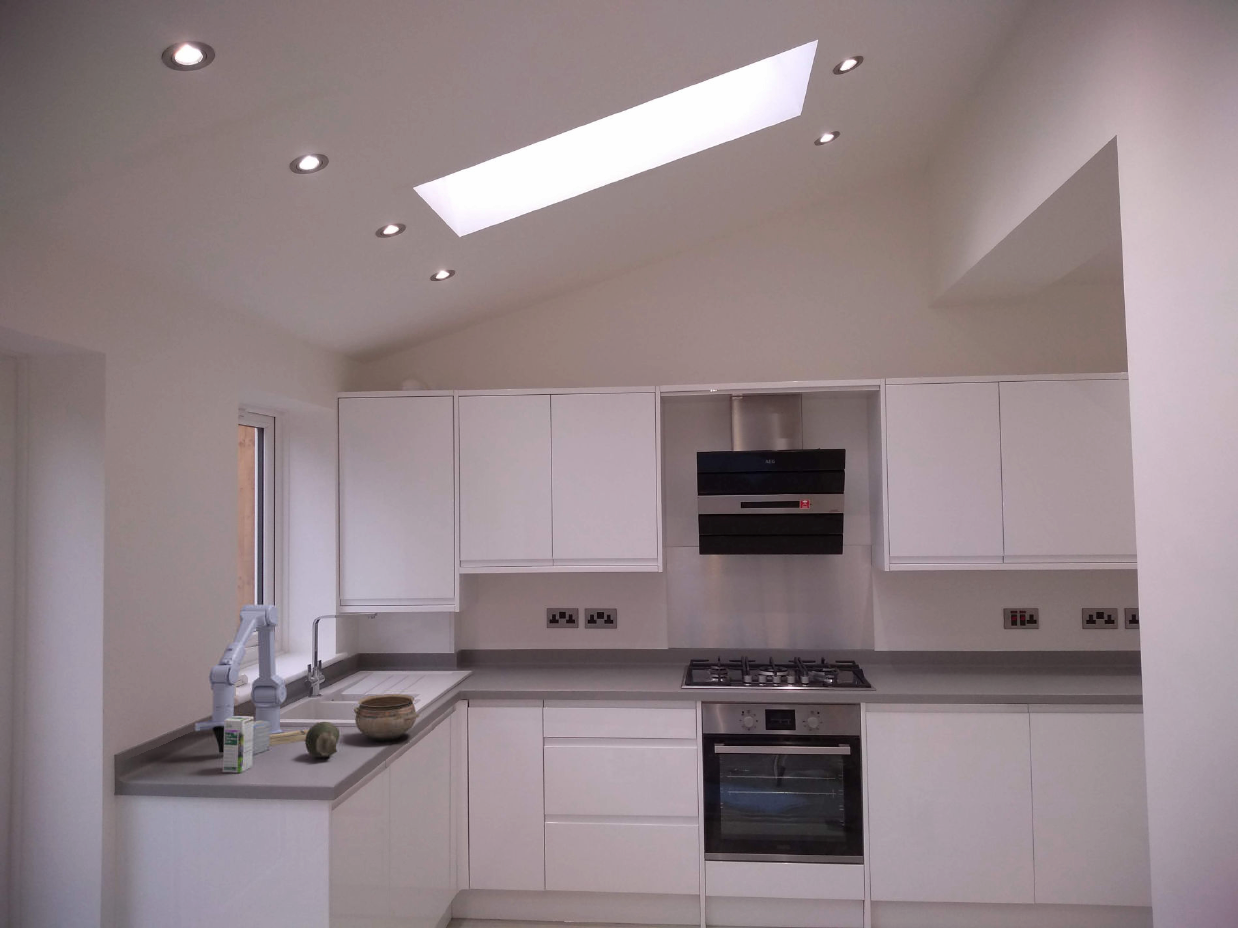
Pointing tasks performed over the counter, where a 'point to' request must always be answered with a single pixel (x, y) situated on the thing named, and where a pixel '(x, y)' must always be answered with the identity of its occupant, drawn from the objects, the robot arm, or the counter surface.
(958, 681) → the counter surface
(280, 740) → the pine board
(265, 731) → the medicine box
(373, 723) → the cooking pot
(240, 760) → the syrup box
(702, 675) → the counter surface
